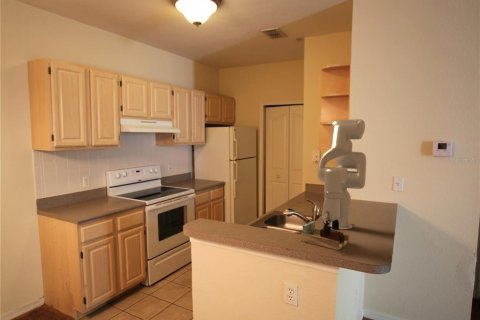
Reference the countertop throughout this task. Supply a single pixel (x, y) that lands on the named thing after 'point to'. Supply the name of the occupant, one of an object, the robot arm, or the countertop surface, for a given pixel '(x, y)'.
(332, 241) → the rail board
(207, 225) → the countertop surface
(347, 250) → the countertop surface
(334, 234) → the brick
